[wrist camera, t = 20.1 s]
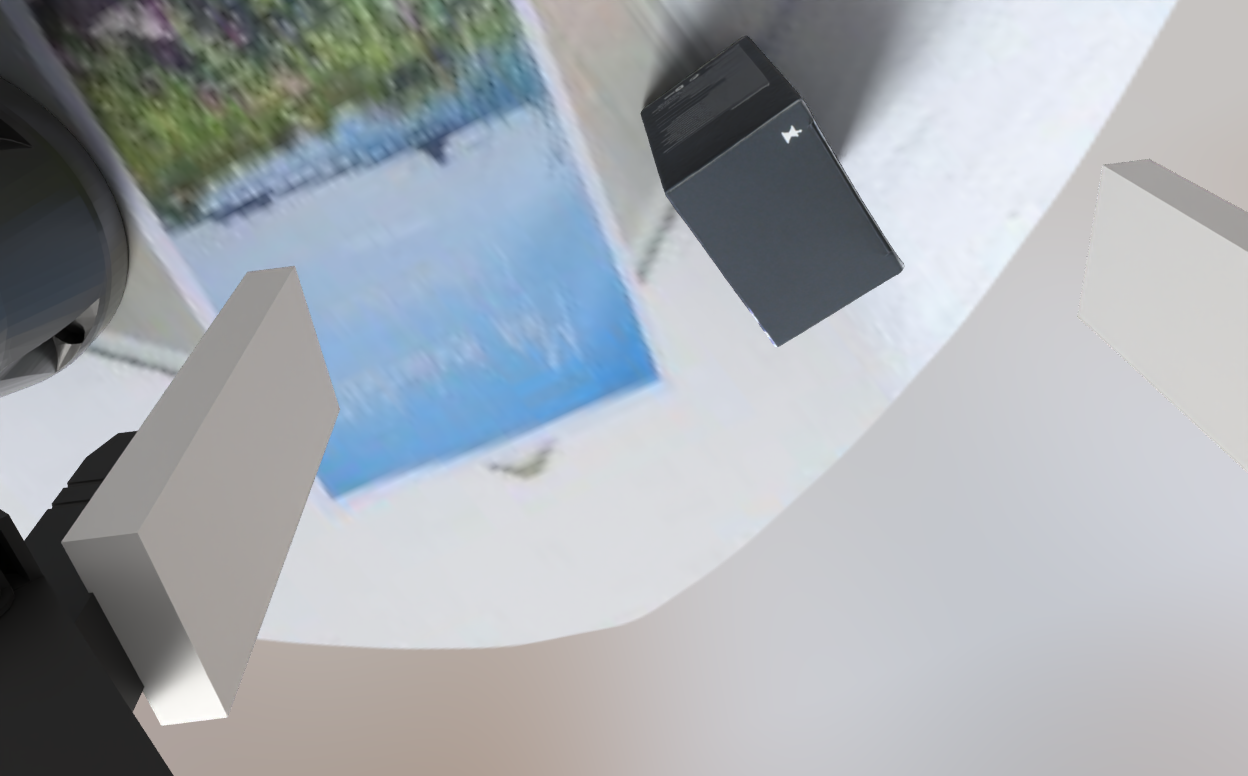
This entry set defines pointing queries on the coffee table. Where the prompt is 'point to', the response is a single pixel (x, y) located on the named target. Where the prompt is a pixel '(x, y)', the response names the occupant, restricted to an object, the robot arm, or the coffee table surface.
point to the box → (765, 193)
